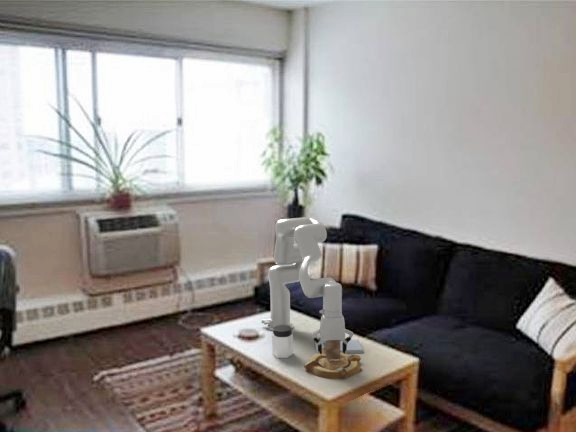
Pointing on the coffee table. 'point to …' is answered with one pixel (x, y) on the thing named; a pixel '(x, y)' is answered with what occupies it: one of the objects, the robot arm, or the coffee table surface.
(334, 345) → the block
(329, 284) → the robot arm
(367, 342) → the coffee table surface
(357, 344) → the pocket board
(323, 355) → the ashtray
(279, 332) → the jar
